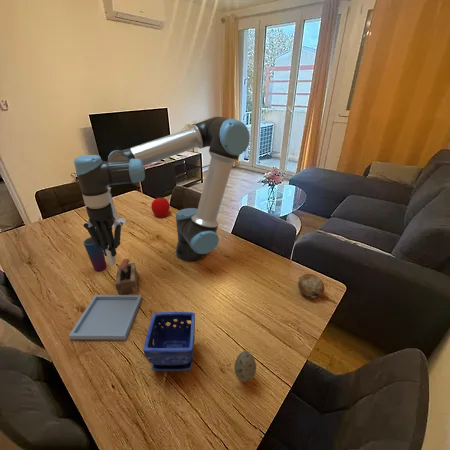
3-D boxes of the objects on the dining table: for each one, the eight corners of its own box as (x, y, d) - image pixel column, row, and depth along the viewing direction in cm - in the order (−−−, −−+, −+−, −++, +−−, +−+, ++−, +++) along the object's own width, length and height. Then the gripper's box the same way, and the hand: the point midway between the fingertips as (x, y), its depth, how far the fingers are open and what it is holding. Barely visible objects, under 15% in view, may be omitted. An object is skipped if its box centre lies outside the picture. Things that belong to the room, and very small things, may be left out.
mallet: (134, 276, 107) (130, 258, 103) (129, 286, 102) (124, 268, 97) (127, 276, 107) (123, 258, 103) (122, 286, 102) (117, 267, 97)
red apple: (158, 222, 152) (155, 203, 146) (150, 216, 159) (147, 197, 153) (174, 216, 159) (172, 198, 153) (165, 211, 166) (163, 193, 160)
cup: (102, 273, 109) (93, 245, 102) (89, 271, 110) (79, 243, 103) (111, 264, 115) (104, 237, 108) (98, 262, 116) (90, 235, 109)
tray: (142, 299, 96) (141, 295, 95) (125, 340, 80) (124, 335, 79) (96, 299, 96) (95, 294, 95) (70, 340, 80) (68, 335, 79)
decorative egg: (254, 365, 72) (256, 343, 68) (255, 387, 67) (258, 365, 62) (234, 365, 73) (234, 343, 68) (234, 386, 67) (234, 364, 63)
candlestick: (105, 220, 154) (93, 173, 140) (127, 217, 157) (117, 171, 143) (103, 230, 143) (90, 180, 129) (126, 226, 147) (116, 178, 132)
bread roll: (301, 302, 98) (309, 296, 91) (291, 278, 103) (299, 271, 97) (322, 298, 100) (332, 291, 94) (312, 274, 106) (320, 267, 99)
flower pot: (198, 335, 81) (196, 310, 76) (195, 376, 70) (192, 350, 64) (157, 337, 81) (152, 311, 75) (148, 378, 69) (141, 351, 64)
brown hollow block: (137, 292, 99) (134, 280, 96) (118, 295, 97) (115, 284, 94) (137, 273, 109) (134, 262, 106) (120, 276, 107) (117, 265, 104)
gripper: (122, 200, 84) (133, 257, 95) (85, 199, 84) (100, 256, 95) (112, 209, 77) (125, 269, 88) (72, 208, 77) (90, 268, 88)
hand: (112, 262), depth 92 cm, fingers closed
